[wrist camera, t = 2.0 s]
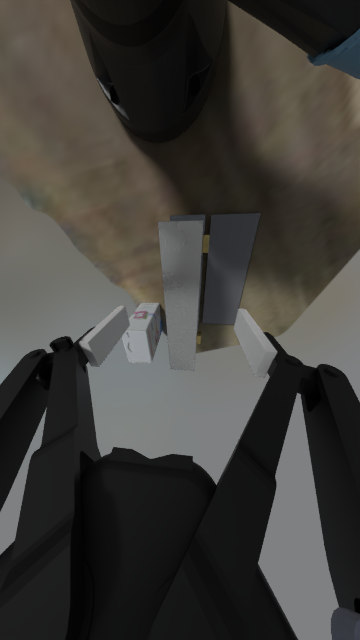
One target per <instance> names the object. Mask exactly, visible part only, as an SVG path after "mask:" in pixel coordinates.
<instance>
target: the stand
mask: <svg viewBox="0 0 360 640" xmlns="http://www.w3.org/2000/svg"><path fill="white" fill-rule="evenodd" d="M205 216H206V214H205V215H176V216H170V221H202V220H203V236H202V253H201V269H200V286H199V302H198V319H197V335H196V344H200V343H201V331H198V322H199V306H200V291H201V276H202V261H203V253H208V249H209V237H210V235H204V231H205Z"/></svg>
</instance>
